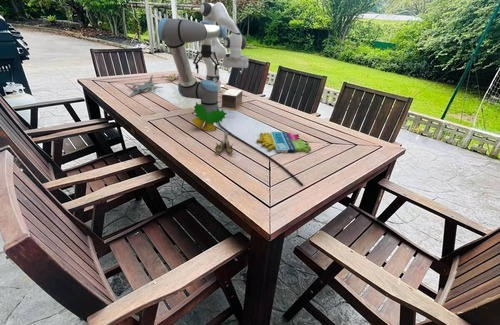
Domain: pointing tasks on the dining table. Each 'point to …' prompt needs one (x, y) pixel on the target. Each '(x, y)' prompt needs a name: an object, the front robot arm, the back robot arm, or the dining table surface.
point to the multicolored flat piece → (283, 142)
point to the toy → (172, 77)
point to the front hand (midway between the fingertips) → (206, 74)
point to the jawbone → (224, 145)
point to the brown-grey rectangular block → (232, 99)
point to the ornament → (207, 117)
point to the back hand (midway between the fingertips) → (235, 73)
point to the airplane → (144, 87)
